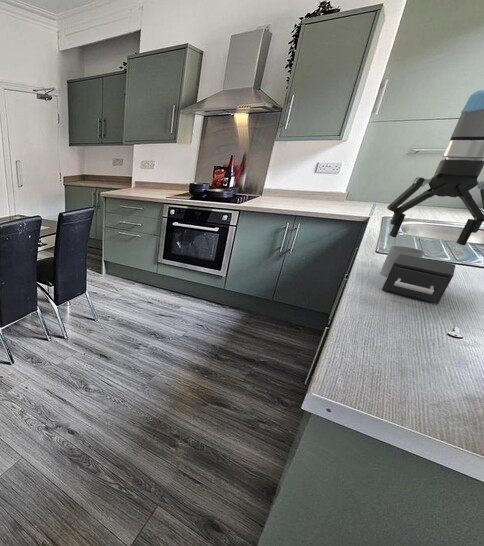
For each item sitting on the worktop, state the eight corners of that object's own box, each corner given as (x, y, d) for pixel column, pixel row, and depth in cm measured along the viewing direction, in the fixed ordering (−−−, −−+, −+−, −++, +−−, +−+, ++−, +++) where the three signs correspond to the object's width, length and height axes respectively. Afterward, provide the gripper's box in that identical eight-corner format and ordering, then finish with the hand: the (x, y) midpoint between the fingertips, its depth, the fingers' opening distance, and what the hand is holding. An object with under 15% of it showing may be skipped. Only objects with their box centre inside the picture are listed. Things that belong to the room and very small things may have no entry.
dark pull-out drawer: (434, 308, 88) (447, 284, 85) (381, 294, 96) (391, 271, 93) (439, 291, 99) (450, 268, 96) (390, 279, 107) (400, 258, 104)
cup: (408, 282, 108) (421, 255, 104) (377, 274, 114) (388, 248, 110) (413, 276, 112) (426, 250, 108) (383, 269, 118) (394, 244, 115)
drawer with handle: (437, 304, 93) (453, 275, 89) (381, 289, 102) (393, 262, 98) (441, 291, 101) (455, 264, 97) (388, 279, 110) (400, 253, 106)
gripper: (530, 160, 75) (484, 243, 83) (392, 157, 87) (364, 230, 95) (552, 161, 69) (500, 251, 78) (401, 158, 81) (370, 236, 89)
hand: (425, 240), depth 87 cm, fingers open, 13 cm apart
